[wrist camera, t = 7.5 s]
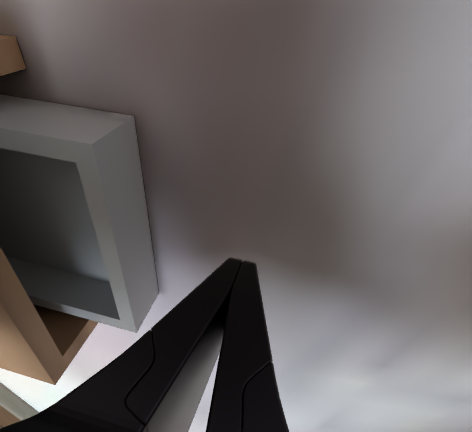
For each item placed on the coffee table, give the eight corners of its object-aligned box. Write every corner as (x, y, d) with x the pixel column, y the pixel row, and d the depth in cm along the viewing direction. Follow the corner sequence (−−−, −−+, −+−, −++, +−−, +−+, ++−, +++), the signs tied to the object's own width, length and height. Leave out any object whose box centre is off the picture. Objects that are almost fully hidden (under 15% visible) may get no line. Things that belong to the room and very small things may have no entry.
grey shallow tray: (133, 115, 9) (92, 144, 7) (158, 293, 14) (136, 332, 12) (-140, 71, 11) (-221, 87, 9) (-30, 245, 15) (-71, 275, 14)
